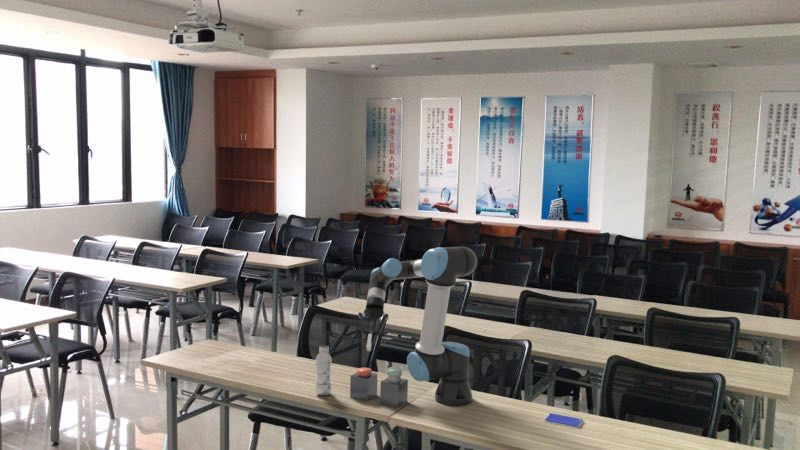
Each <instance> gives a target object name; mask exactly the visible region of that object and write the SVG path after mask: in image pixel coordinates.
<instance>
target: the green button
mask: <svg viewBox="0 0 800 450" xmlns="http://www.w3.org/2000/svg"><path fill="white" fill-rule="evenodd" d="M386 375H388V377H387V378H388V382H393V383H398V382H400V380H401V376H403V368H401V367H399V366H398V367H397V366H390V367H387V369H386Z"/></svg>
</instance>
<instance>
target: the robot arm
mask: <svg viewBox="0 0 800 450" xmlns="http://www.w3.org/2000/svg"><path fill="white" fill-rule="evenodd" d="M477 265H478V259H477V255H476V253H475V251H474V250H472V249H471V248H469V247H466V246H463V245H462V246H450V247H434V248H430V249H428V250H427V251H426V252H425V253H424V254H423V256H422V258H421V259H414V260H405V261H400V260H398V259H397V258H395V257H394V258H393V257H391V258H388V259H387V260H386V261H384V262H383V264H382V265H381V266H380V267H376V268H374V269H372V271H371V273H370V278H369V285H368V290H367V291H368V292H367V296H366V297H367V298H366V305H365V308H364V310H363V312H358V318H359V319H360V326H361V327H360V328H361V333H362V335H363V336H365V338H364V341H365V344H366V347H365V348H366V352H372V351H371V350H372V344H375V342H376V337H379V336H381V334H382V331H383V329H384V327H385V324H386V322H387V321H388V320H389V313H385V312H384V311H385V310H384V309H385V308H384V307H385V301H386V300H385V299H386V293H387V287H388V285H389V284H390V283H392V281H394V280H405V279H415V278H416V279H418V278H424V279H425V280H424V281H425V282H426V284H427V285H428V286H427V290H426V297H425V305H424V311H423V318H422V324H421V325H422V326H421V331H420V338H419V341H417V342H416V343H415V347H414V351H411V352H409V354H408V355H407V357H406V365H407V369H408V372H409V374H410V376H411V377H412V378H413V379H414V380H415V381H417V382H428V381H432V380H436V379H439V381H438V383H437V387H436V390H435V392H434V399H435V401H436V402H437V403H439V404H442V405H446V406H454V407H457V406H459V407H460V406H466V405H469V404H471V403H472V402H473V393H472V390H471V386H470V382H469V377H470V376H469V375H470V374H469V373H470V347H468V345H466V344H463V343H460V342H454V341H443V340H444V339H443V338H444V334H445V333H444V331H445V325H446V319H447V313H448V307H449V300H450V295H451V294H450V293H451V289H452V288H453V287H455V286H456V281H457V278H459V277H460V278H461V277H466V276H469V275H470V274H472V273H473V272H474V271H475V270H476V268H477ZM365 317H366V318H367V322H366V323H367V324H366V327H365V320H364V318H365ZM380 319H381V321H380V322H379V320H380ZM372 321H373V322H372ZM372 323H373V324H372ZM378 323H379V326H378ZM371 327H372V330H371ZM365 328H366V329H365ZM371 332H372V333H371Z"/></svg>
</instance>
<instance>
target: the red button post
mask: <svg viewBox="0 0 800 450" xmlns="http://www.w3.org/2000/svg"><path fill="white" fill-rule="evenodd" d="M349 378H350V381H349V382H350V384H349V385H350V386H349V397H350V398H352V399H355V400H356V399H357V400H361V401H366V402H368V401H369V400H372V399H373V398H374V397H376V396H378V373H374V372H372V373H371V376H369V377H360V376H357V372H355V373H354V374H351V375H350V377H349Z"/></svg>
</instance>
